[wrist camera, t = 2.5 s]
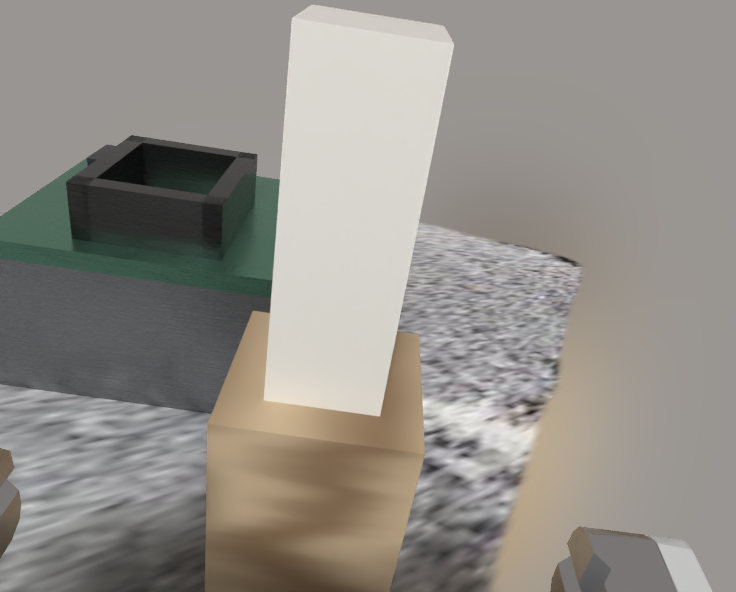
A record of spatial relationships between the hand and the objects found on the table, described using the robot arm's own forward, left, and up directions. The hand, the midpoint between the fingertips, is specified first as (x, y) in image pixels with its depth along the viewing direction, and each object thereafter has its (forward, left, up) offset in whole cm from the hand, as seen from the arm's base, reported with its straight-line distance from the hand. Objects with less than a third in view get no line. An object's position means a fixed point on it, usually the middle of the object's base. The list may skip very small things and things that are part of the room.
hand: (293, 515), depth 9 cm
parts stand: (0, +12, -17) cm, 20 cm away
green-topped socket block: (-10, +27, -17) cm, 33 cm away
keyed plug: (0, +12, -7) cm, 14 cm away
